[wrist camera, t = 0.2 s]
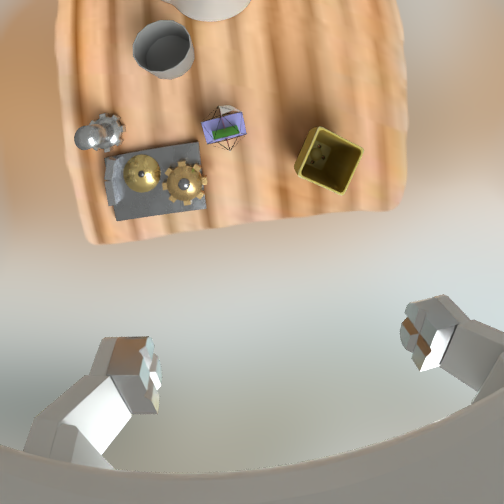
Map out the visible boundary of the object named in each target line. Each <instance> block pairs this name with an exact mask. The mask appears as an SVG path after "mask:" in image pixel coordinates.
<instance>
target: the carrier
mask: <svg viewBox="0 0 504 504" xmlns="http://www.w3.org/2000/svg"><path fill="white" fill-rule="evenodd" d="M104 159H105V165H106V171H105V178H104V179H105V180H106V181H105V188H106V193H107V199H108V205H109V206H114V211H115V216H116V220H117V221H122V220H128V219H135V218H141V217H148V216H155V215H162V214H169V213H176V212H184V211H191V210H199V209H206V200H205V193H204V195H203V197H202V198H201V199H199V198H197V197H195V198H194V199H192V200H191V201H192V202H191V205H185V206H184V202H183V201H180V200H176V201H175V202H174V203H173V202H172V201H170V200H169V197H170V195H171V194H170V193H169V191H168V190H163V187H162V183H163V181H166V180H167V179H168V176H167V175H166V174H165V172H166V171H167V169H168V168H169V167H170V166H171V167H173V168H175V167H177V166H178V161H179V160H185V159H186V163H187V164H189V165H192V166H193V165H194V164H195V163H196V162H197V163H198V164H199V165H201V159H200V150H199V142H191V143H184V144H177V145H170V146H164V147H158V148H152V149H146V150H141V151H135V152H130V153H125V154H120V155H115V156H110V157H106V158H104ZM199 171H200V173H201V175H202V167H201V169H200V170H199ZM202 190H204V185H202Z"/></svg>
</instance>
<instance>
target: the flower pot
mask: <svg viewBox="0 0 504 504" xmlns="http://www.w3.org/2000/svg"><path fill="white" fill-rule="evenodd" d="M318 145H320V146H321V147H320V148H318ZM363 152H364V149H363V148H362V147H360V146H358V145H356V144H354V143H352V142H350V141H348V140H346V139H344V138H342V137H340V136H339V135H337V134H335V133H333V132H331V131H329V130H327V129H325V128H323V127H321V126H319V127H315V128H312V129H311V130H310V131H309V133H308V135H307V138H306V140H305V142H304V145H303V147H302V149H301V151H300V153H299V156H298V158H297V160H296V162H295V165H294V169H295V171H296V173H297V175H298V176H299V177H300V178H303V179H305V180H308V181H310V182H312V183H315V184H317V185H319V186H321V187H324V188H326V189H328V190H330V191H332V192H334V193H337V194H339V195H344V194H345V192H346V190H347V188H348V185H349V183H350V181H351V179H352V177H353V174H354V172H355V170H356V168H357V166H358V164H359V162H360V160H361V157H362V155H363ZM322 156H324V157H325V158H324V159H322ZM312 160H313V161H314V163H311V161H312Z"/></svg>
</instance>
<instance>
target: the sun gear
mask: <svg viewBox="0 0 504 504" xmlns="http://www.w3.org/2000/svg"><path fill="white" fill-rule="evenodd" d="M201 167H202V166H201V165H199V164H198V163H197V162H196V163H195V164H194V165H193V166H192V165H189V164H187V163H186V159H185V160H179V161H178V166H177V167H175V168H173V167H171V166H170V167H169V168H168V169H167V171H166V172H165V174H166V175H167V176H168V179H167V180H166V181H163V183H162V187H163V190H168V191H169V193H170V194H171V195H170V197H169V200H170V201H172V202H173V203H174V202H175V201H176V200H180V201H183V202H184V206H185V205H191V202H192V201H191V200H192V199H194V198H195V197H197V198H199V199H201V198H202V197H203V195H204V193H205V191H204V190H202V185H205V184H207V175H201V173H200V171H199V170H200V169H201Z"/></svg>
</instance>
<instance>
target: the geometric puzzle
mask: <svg viewBox="0 0 504 504" xmlns="http://www.w3.org/2000/svg"><path fill="white" fill-rule="evenodd" d="M218 107H219V111H220V115H221V116H220V115H219V116H220V118H216V119H213V118H211V119H212V120H210V119H209V121H207V120H206V121H204V122H201V124H202V128H203V131H204V135H205V138H206V142H207V144H208V145H209V144H211V143H216V142H217V141H218V142H221V140H223V141H227V143H228V140H230V139H228V138H231V139H233V138H232V137H234V138H236V136H237V137H239V136H242V135H245V134H247V133H246V129H245V124H244V119H243V114H242V112H241V111H239V110H238V109H236V108H234V107H233V106H230V105H224V106H218ZM218 107H217V108H218ZM230 111H239V112H237V113H236V114H232V113H228V114H229V115H228V116H223V115H224V113H227V112H230ZM211 113H212V112H211ZM211 113H210V114H211ZM215 113H216V112H215ZM210 114H209V115H210ZM230 114H232V115H230ZM209 115H208V116H209ZM214 115H215V114H214ZM222 116H223V117H222ZM213 117H214V116H213ZM216 117H217V116H216ZM214 118H215V117H214ZM225 139H226V140H225ZM227 139H228V140H227ZM236 140H237V139H236ZM218 142H217V143H218ZM235 142H236V141H235ZM219 144H220V143H219ZM234 144H235V143H234ZM220 145H221V144H220ZM222 146H223V145H222ZM228 146H229V144H228ZM215 147H216V146H215ZM223 147H224V146H223ZM232 147H233V146H232ZM225 148H226V147H225ZM233 148H234V147H233ZM233 148H231V150H232V149H233ZM222 149H223V148H222ZM226 149H227V148H226ZM229 149H230V147H229ZM229 149H228V150H229ZM231 150H229V151H231Z"/></svg>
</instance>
